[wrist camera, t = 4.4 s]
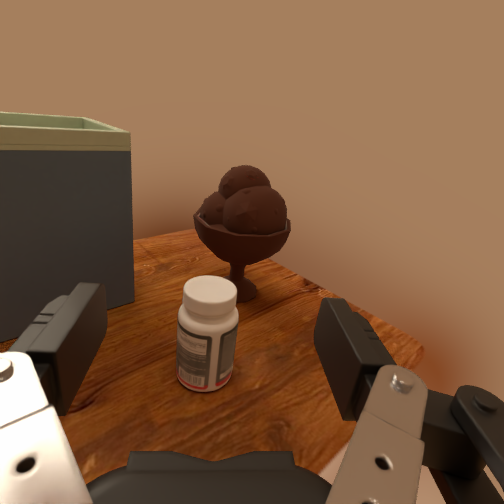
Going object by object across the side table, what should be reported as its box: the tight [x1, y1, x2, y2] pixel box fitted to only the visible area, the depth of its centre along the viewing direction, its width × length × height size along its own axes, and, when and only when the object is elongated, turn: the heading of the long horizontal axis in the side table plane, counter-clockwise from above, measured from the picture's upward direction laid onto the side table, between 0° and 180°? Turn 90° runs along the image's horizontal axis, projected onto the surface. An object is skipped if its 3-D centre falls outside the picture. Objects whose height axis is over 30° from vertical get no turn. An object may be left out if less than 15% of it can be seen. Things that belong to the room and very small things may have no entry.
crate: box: [0, 150, 135, 342], centre depth 32 cm, size 13×11×16 cm
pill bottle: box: [176, 276, 239, 392], centre depth 26 cm, size 5×5×8 cm
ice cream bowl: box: [193, 165, 291, 302], centre depth 38 cm, size 11×11×15 cm
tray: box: [0, 112, 131, 151], centre depth 28 cm, size 13×11×2 cm
